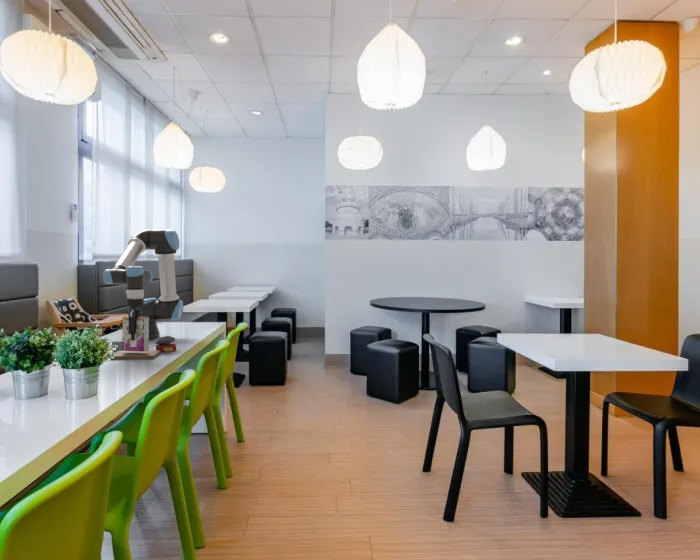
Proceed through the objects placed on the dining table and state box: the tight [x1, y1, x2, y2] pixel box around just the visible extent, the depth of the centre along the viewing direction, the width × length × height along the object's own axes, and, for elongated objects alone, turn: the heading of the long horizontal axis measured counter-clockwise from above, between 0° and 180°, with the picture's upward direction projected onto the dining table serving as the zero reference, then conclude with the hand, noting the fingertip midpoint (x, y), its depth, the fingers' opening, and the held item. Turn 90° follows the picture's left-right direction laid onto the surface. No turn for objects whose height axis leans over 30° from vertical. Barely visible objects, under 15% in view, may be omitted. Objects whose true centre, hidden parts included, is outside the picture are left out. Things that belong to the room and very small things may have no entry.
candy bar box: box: [121, 315, 150, 351], centre depth 228 cm, size 11×5×16 cm, turn 85°
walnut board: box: [112, 349, 162, 361], centre depth 229 cm, size 14×20×2 cm
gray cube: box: [111, 339, 123, 352], centre depth 243 cm, size 5×5×5 cm
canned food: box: [154, 335, 177, 354], centre depth 243 cm, size 11×10×10 cm
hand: (135, 345), depth 229 cm, fingers closed on candy bar box, 6 cm apart
